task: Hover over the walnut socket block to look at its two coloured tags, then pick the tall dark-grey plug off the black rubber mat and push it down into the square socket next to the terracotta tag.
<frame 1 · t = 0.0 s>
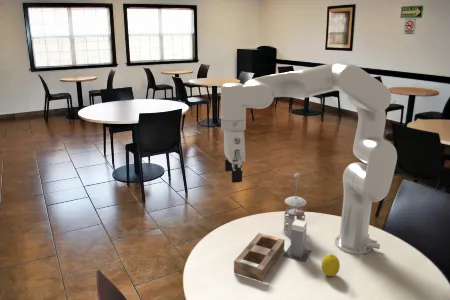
hand: (233, 176, 121), 31 cm above the table, tool pointing down, fingers open, 9 cm apart
plug: (297, 253, 134), resting on mat
lemon: (329, 276, 123), on the table
french press: (293, 232, 149), on the table
mat: (297, 254, 134), on the table
socket block: (260, 261, 130), on the table
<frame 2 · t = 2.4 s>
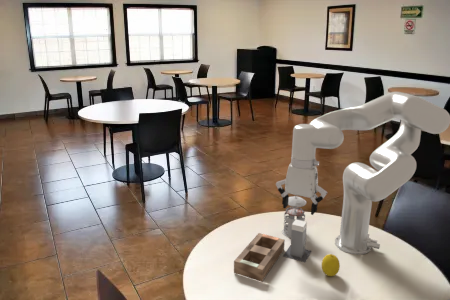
hand: (299, 209, 129), 17 cm above the table, tool pointing down, fingers open, 9 cm apart
nothing on the table moved.
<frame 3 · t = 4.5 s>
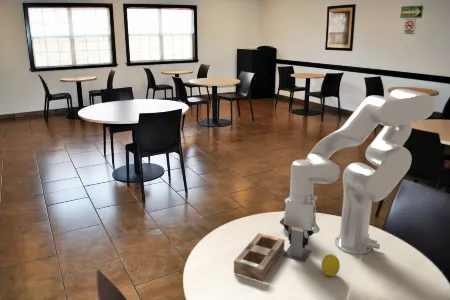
hand: (298, 243, 133), 4 cm above the table, tool pointing down, fingers closed on plug, 4 cm apart
plug: (297, 253, 134), resting on mat, touching gripper
everything else where it was.
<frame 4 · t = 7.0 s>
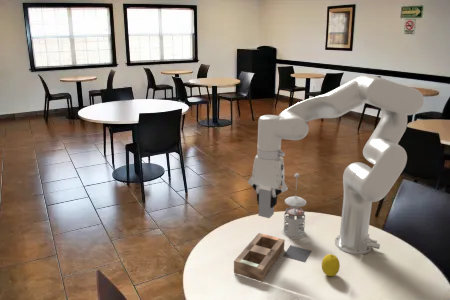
hand: (266, 204, 129), 19 cm above the table, tool pointing down, fingers closed on plug, 4 cm apart
plug: (266, 214, 130), point 16 cm above the table, touching gripper
everything else where it was.
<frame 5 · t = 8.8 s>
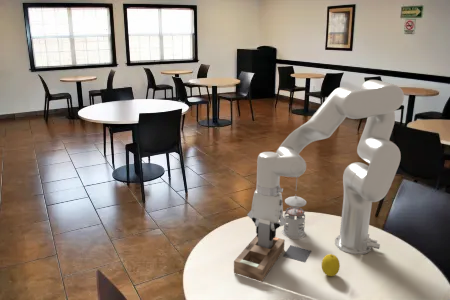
hand: (265, 236, 132), 7 cm above the table, tool pointing down, fingers closed on plug, 4 cm apart
plug: (265, 246, 134), point 3 cm above the table, touching gripper
everything else where it was.
when the fingers open (5 cm above the table, at t = 9.8 s): plug drops 1 cm, resting in socket block.
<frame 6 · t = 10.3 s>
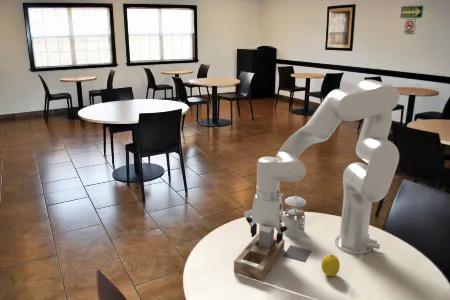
hand: (266, 238, 133), 6 cm above the table, tool pointing down, fingers open, 9 cm apart
plug: (265, 254, 135), resting in socket block
everything else where it was.
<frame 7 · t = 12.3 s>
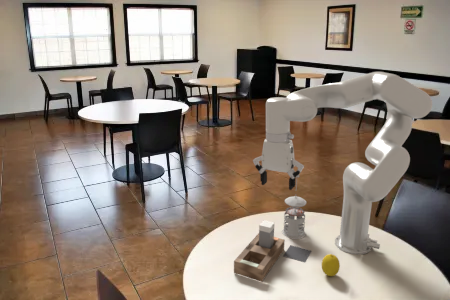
hand: (277, 185, 127), 26 cm above the table, tool pointing down, fingers open, 9 cm apart
nothing on the table moved.
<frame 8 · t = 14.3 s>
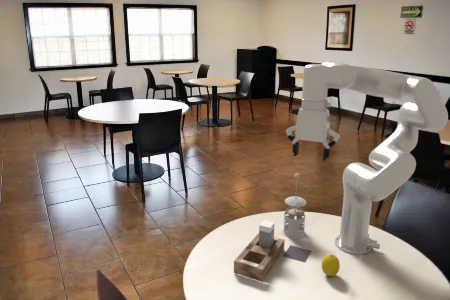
hand: (310, 157, 123), 36 cm above the table, tool pointing down, fingers open, 9 cm apart
nothing on the table moved.
at the end: plug 0.1 cm from the target spot on the socket block, point 0.0 cm above the socket block's base; plug tilted 0°; the gripper is holding nothing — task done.
